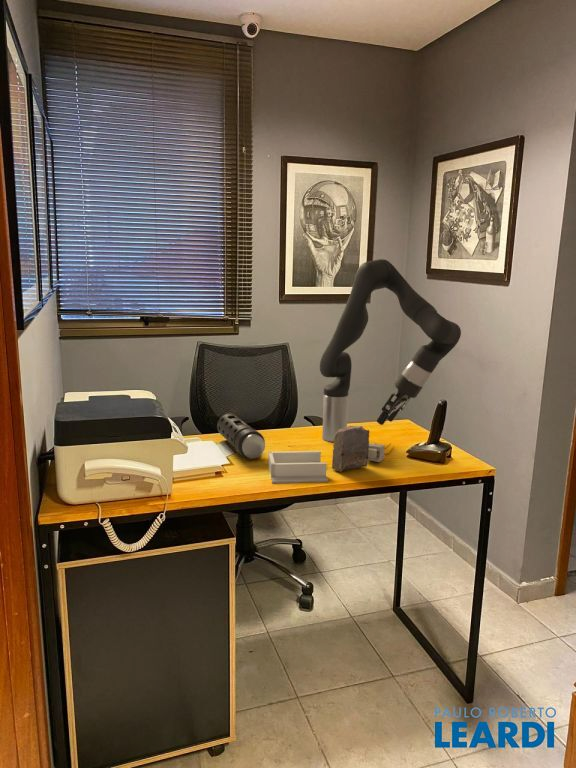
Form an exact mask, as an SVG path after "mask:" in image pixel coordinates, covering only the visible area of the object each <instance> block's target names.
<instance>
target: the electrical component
mask: <svg viewBox="0 0 576 768" xmlns="http://www.w3.org/2000/svg"><path fill="white" fill-rule="evenodd" d="M390 445H392V442H390V443H389V444H388V445H387V446H386V445H385V444H379V443H378V444H377V443H369V449H368V462H369V461H371V462H376V463H377V462H378V463H380V462H383V461H384V458H385V456H386V455H389V454H390V453H391V452H392V451H393V450H394V447H395V446H394V445H393V446H392V447H391V450H389V452H387V453H385V452H386V451H385V450H387V448H388V447H390Z"/></svg>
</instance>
